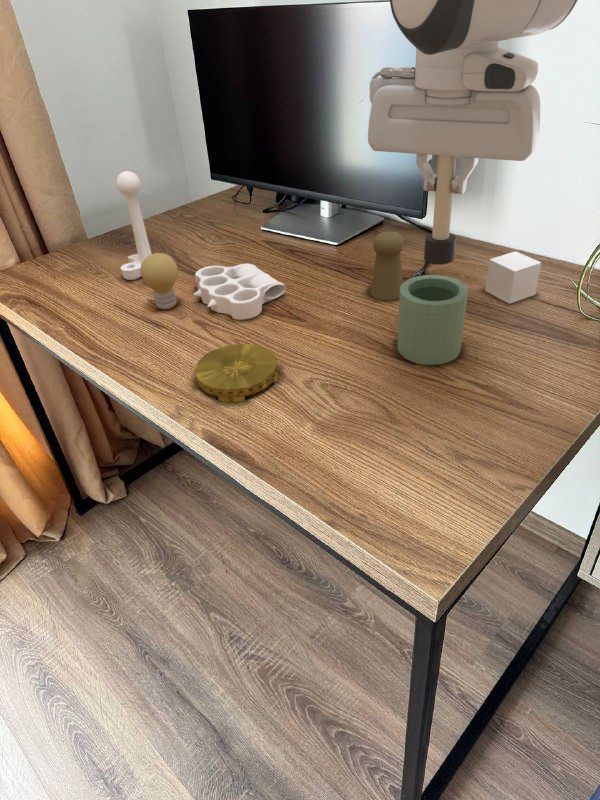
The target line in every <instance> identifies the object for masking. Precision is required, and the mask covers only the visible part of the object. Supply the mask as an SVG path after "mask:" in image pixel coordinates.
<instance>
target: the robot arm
mask: <svg viewBox="0 0 600 800" xmlns="http://www.w3.org/2000/svg"><path fill="white" fill-rule="evenodd" d="M578 1H579V0H389V4H390V10H391V14H392V16H393V19H394V21H395V23H396V25H397V28H398V29H399V30H400V32H401V34H402V35H403V36H404V37H405V38H406V40H408V42H409V43H410V44H412V46H413V47H415V66H414V67H413V66H412V67H411V66H410V67H409V66H407V67H406V66H405V67H398V68H395V67H390V66H389V67H382V68H381V70H380V71H378V72H376V73H375V74H373V75H372V77H371V79H370V82H369V101H370V104H371V106H370V112H369V119H368V129H367V143H368V145H369V146H370V148H371V149H372V151H374V152H385V153H399V154H412V155H413V154H414V155H416V157H415V158H416V159H415V164H416V165H417V167H418V170H419V171H420V173H421V176H422V178H423V191H425V192H436V179H437V173H434V171H433V168H432V166H431V164H430V161H431V160H432V159H433V156H438V155H441V156H455V157H456V158H462V163H461V166H462V167H465V169H464V170H463V172H462V173H461V175H455V177H454V178H453V179H452V183H451V185H452V188H451V193H453V194H456V195H464V193H465V192H466V190H467V184H468V178H469V177H470V175H471V174H472V172H473V171H474V169H475V168H476V167H477V165H478V163H479V160H480V159H485V160H486V159H487V160H501V161H515V162H523V161H524V162H525V161H526V160H527V159H528V158H529V157H530V156H531V155H533V153H535V151H536V149H537V147H538V142H539V137H540V127H541V126H540V125H541V98H540V94H539V91H538V90H537V88H536V87H535V86H534V85H532V84H533V83H534V82H535V80H536V78H537V76H538V71H539V64H538V62H537V61H536V60H535V59H533V58H531V57H528V56H524V55H521V54H519V53H516V52H513V51H511V50H508V49H506V48H503V47H501V46H499V42H502V41H507V40H511V39H519V38H525V37H531V36H536V35H540V34H542V33H545V32H547V31H550V30H554V29H555V28H557V27H558V26H559V25H561V24H562V23H563V22H564V21H565V20H566V19H567V17H568V16H569V15H570V13H571V12H572V11H573V9H574V8H575V6H576V4H577V3H578Z"/></svg>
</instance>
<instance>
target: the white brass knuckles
mask: <svg viewBox="0 0 600 800" xmlns="http://www.w3.org/2000/svg"><path fill="white" fill-rule="evenodd" d="M194 277H195V282H196V288H197V290H196V291H195V292H194V293H193V294H192V296H194V297H199V298H201V301H202V304H205V305H207V306H206V307H207V308H210V309H211V311H213V312H216V313H218V314H225V315H229V316H231V318H232V319H233V320H237V321H238V320H239V321H241V320H243V321H244V320H250V319H254V318H256V317H258V316H259V315H260V314H261V313H262V312H263V305H264V304H266V303H268V302H272V301H273V300H275V299H277V298H279V297H281V296H282V295H284V294H285V293H286V288H287V287H286V286H285V283H283V282H280V281H279V280H277V279H275V278H274V277H272V276H271V275H270V274H269V273H266V272H265V271H263V270H262V269H259V268H258V267H257V266H256V265H255V264H252V263H240V264H237V265H234V266H224V265H223V266H222V265H209V266H205V267H202V268H200V269H198V270H196V272H195V275H194Z"/></svg>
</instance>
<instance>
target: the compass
mask: <svg viewBox="0 0 600 800" xmlns="http://www.w3.org/2000/svg"><path fill="white" fill-rule="evenodd" d="M194 369H195V370H194V373H195V377H196V382H197V387H198V388H200V389H201V390H202V391H204V392H205V393H206V394H209V395H211V396H215V397H218V401H219V402H225V403H236V402H245V401H246V399H245V397H246V396H250V395H251V396H252V395H254V394H256V393H259V392H261V391H263V390H265V389H266V388H268V387H269V386H270V385H271V384H272V383H274V384H276V383H277V381H278V377H279V373H278V362H277V357H276V356H275V354H274V353H273V352H272V351H271V350H269V349H268V348H266V347H263V346H261V345H256V344H252V343H251V344H250V343H237V344H228V345H225V346H220V347H218V348H215V349H213V350H211V351H209V352H207V353H206V354H205V355H203V356H202V357H201V358H200V359H199V360H198V362H197V363H196V366H195V368H194Z"/></svg>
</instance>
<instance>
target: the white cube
mask: <svg viewBox="0 0 600 800" xmlns="http://www.w3.org/2000/svg"><path fill="white" fill-rule="evenodd" d="M541 267H542V262H541V261H539V260H537V259H534V258H533V257H530V256H528V255H525V254H524V253H521V252H519V251H512V252H508V253H505V254H502V255H499V256H496V257H492V258H490V259H489V260H488V267H487V273H486V281H485V289H484V292H486V293H489V294H490V295H492V296H494V297H495V298H497V299H499V300H501V301H503V302H505V303H507V304H509V305H510V304H513V303H516V302H519V301H521V300H524V299H528V298H530V297H533V296H535V295H536V293H537V289H538V288H537V287H538V284H539V283H538V282H539V278H540V272H541Z"/></svg>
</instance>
